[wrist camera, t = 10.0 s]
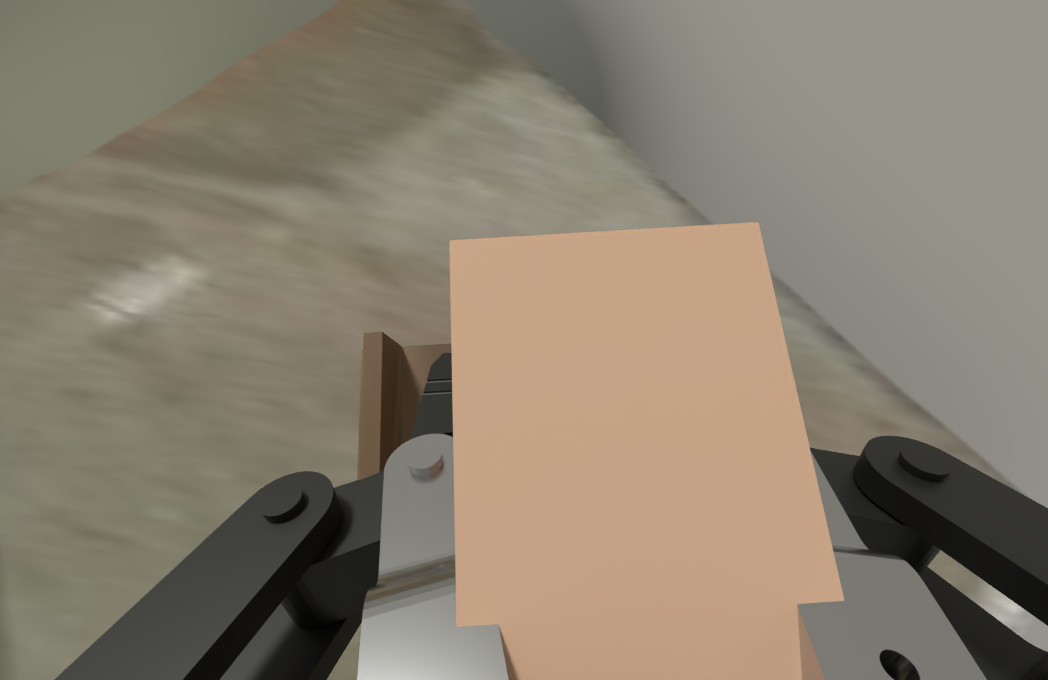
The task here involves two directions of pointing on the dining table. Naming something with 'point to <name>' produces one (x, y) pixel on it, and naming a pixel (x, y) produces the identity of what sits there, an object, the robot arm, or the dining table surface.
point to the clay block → (631, 457)
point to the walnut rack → (390, 396)
